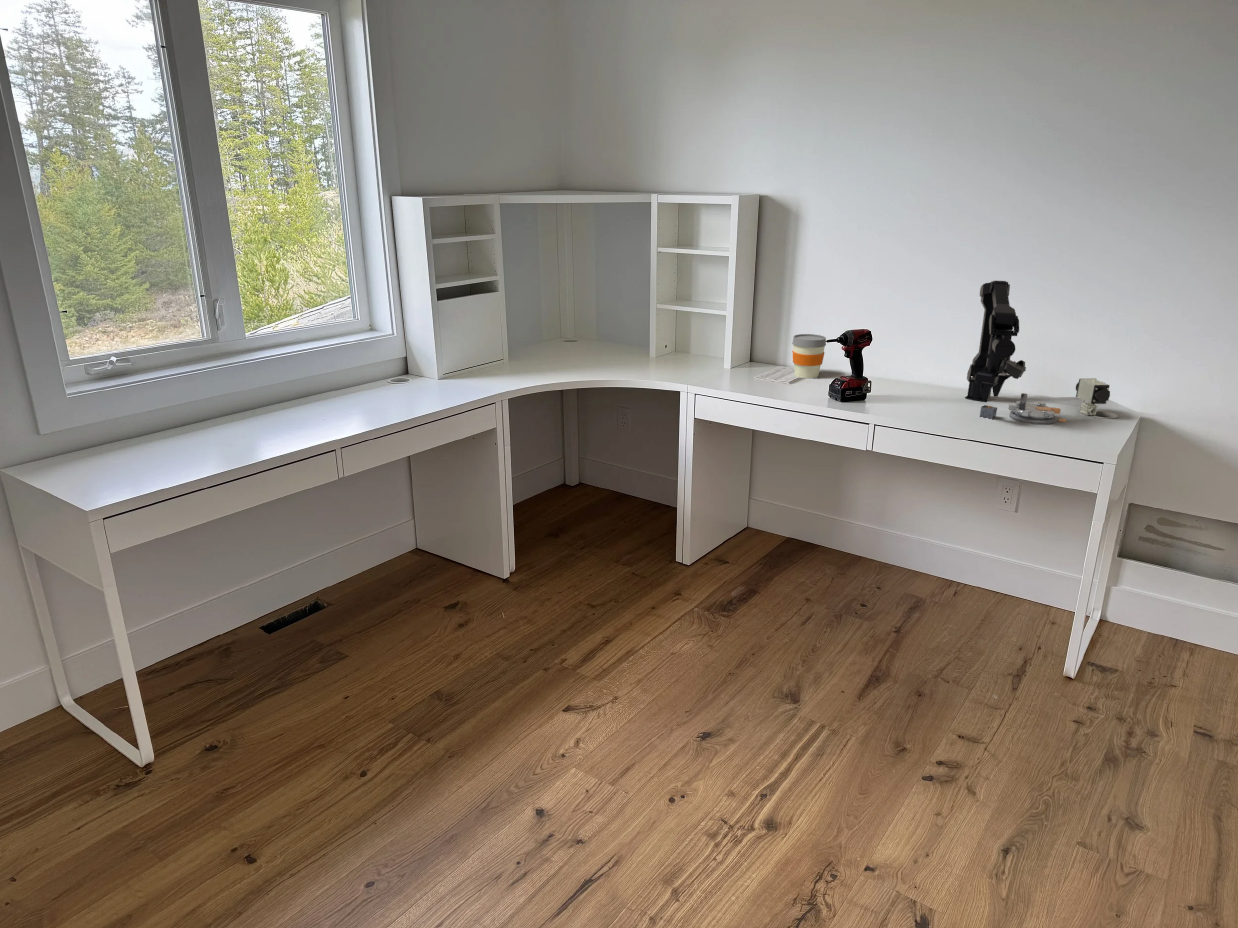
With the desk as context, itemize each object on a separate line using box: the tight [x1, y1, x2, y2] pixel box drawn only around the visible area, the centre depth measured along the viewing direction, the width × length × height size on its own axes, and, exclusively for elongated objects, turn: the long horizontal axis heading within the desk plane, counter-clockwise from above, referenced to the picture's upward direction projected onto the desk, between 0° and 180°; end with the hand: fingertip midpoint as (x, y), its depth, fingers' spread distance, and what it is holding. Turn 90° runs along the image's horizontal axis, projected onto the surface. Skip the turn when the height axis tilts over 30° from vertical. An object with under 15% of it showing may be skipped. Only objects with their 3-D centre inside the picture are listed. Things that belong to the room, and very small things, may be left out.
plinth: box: [1009, 410, 1067, 425], centre depth 266 cm, size 16×14×1 cm
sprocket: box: [1007, 392, 1062, 420], centre depth 265 cm, size 14×15×7 cm
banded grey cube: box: [979, 405, 998, 420], centre depth 267 cm, size 4×3×4 cm
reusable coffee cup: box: [791, 333, 827, 379], centre depth 317 cm, size 13×13×15 cm
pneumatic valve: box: [1075, 377, 1111, 416], centre depth 270 cm, size 6×12×12 cm, turn 4°
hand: (990, 399), depth 266 cm, fingers open, 9 cm apart
